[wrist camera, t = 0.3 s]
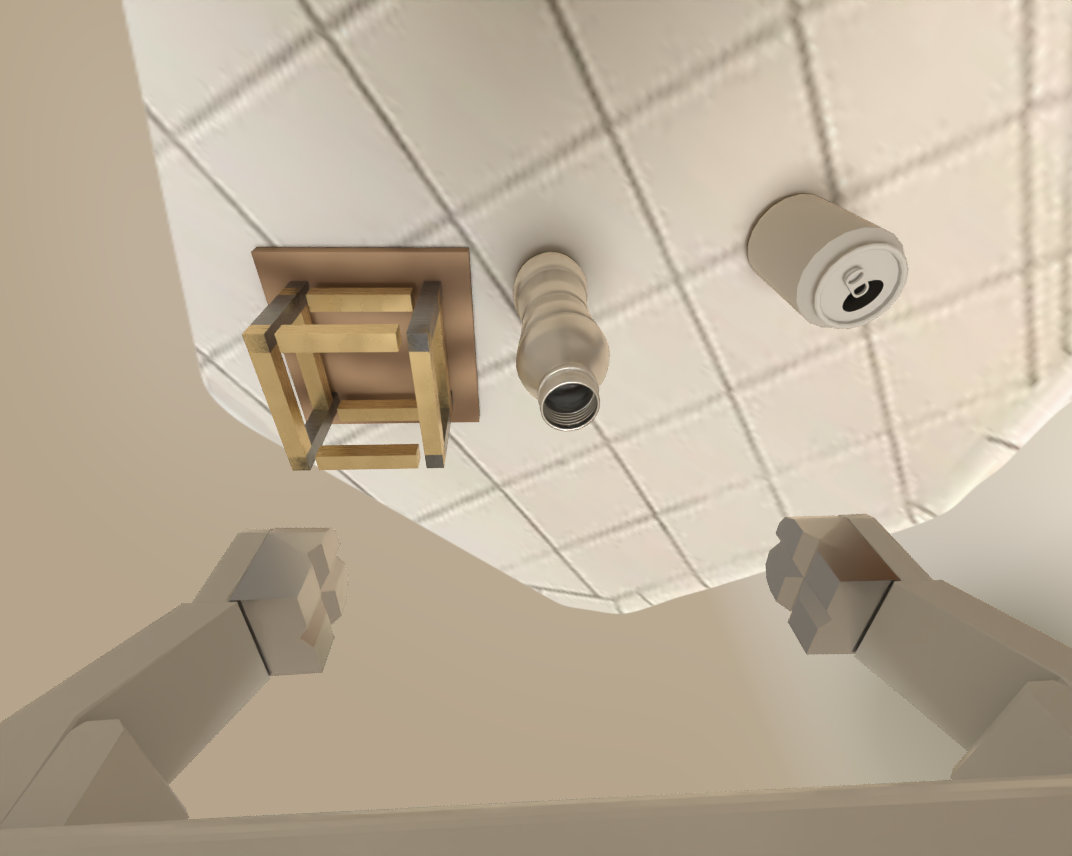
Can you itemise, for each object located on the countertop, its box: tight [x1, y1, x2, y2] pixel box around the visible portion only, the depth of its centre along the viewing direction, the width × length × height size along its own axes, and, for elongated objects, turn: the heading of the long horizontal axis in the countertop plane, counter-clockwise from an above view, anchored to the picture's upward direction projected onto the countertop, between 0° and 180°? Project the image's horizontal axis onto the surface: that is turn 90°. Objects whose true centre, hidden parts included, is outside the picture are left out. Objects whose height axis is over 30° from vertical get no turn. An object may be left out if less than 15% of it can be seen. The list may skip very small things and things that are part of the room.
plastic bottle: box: [513, 252, 610, 431], centre depth 38 cm, size 6×7×20 cm
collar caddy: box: [242, 281, 454, 470], centre depth 44 cm, size 13×13×10 cm
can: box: [748, 194, 908, 329], centre depth 40 cm, size 8×8×12 cm
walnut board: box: [251, 247, 480, 424], centre depth 48 cm, size 18×18×1 cm
